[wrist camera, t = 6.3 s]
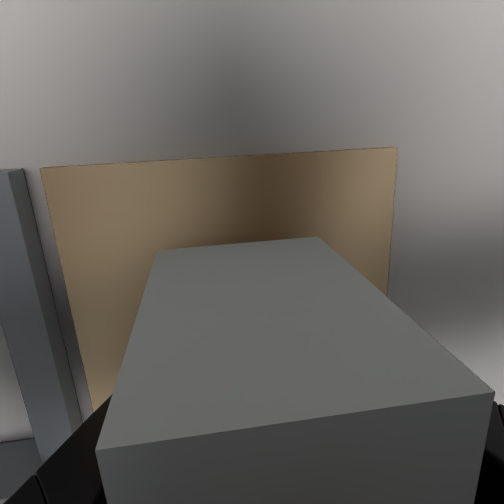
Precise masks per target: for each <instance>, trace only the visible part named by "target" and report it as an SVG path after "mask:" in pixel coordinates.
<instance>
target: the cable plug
mask: <svg viewBox="0 0 504 504" xmlns="http://www.w3.org/2000/svg"><path fill="white" fill-rule="evenodd" d="M494 395H495V391H494V390H492V389H491V388H490V387H489V386H488V385H487V384H486V383H484V382H483V381H482V380H481V379H480V378H479V377H478V376H476V375H475V374H474V373H473V372H472V371H471V370H470V369H469V368H467V367H466V366H465V365H464V364H463V363H462V362H461V361H459V360H458V359H457V358H456V357H455V356H454V355H453V354H451V353H450V352H449V351H448V350H447V349H446V348H445V347H443V346H442V345H441V344H440V343H439V342H438V341H437V340H435V339H434V338H433V337H432V336H431V335H430V334H429V333H427V332H426V331H425V330H424V329H423V328H422V327H421V326H420V325H418V324H417V323H416V322H415V321H414V320H413V319H412V318H410V317H409V316H408V315H407V314H406V313H405V312H404V311H402V310H401V309H400V308H399V307H398V306H397V305H396V304H394V303H393V302H392V301H391V300H390V299H389V298H388V297H386V296H385V295H384V294H383V293H382V292H381V291H380V290H378V289H377V288H376V287H375V286H374V285H373V284H372V283H371V282H369V281H368V280H367V279H366V278H365V277H364V276H363V275H361V274H360V273H359V272H358V271H357V270H356V269H355V268H353V267H352V266H351V265H350V264H349V263H348V262H347V261H345V260H344V259H343V258H342V257H341V256H340V255H339V254H337V253H336V252H335V251H334V250H333V249H332V248H331V247H329V246H328V245H327V244H326V243H325V242H324V241H323V240H321V239H320V238H319V237H318V236H317V237H305V238H294V239H282V240H271V241H259V242H248V243H236V244H225V245H213V246H202V247H190V248H179V249H167V250H157V253H156V256H155V259H154V262H153V265H152V269H151V272H150V275H149V278H148V282H147V285H146V288H145V291H144V294H143V298H142V301H141V304H140V307H139V310H138V314H137V317H136V320H135V323H134V327H133V330H132V333H131V336H130V339H129V343H128V346H127V349H126V352H125V356H124V359H123V362H122V365H121V368H120V372H119V375H118V378H117V381H116V384H115V388H114V391H113V394H112V397H111V401H110V404H109V407H108V410H107V413H106V417H105V420H104V423H103V426H102V430H101V433H100V436H99V439H98V442H97V446H96V449H95V453H96V457H97V461H98V466H99V470H100V474H101V479H102V483H103V488H104V492H105V496H106V501H107V504H474V500H475V495H476V490H477V484H478V479H479V474H480V469H481V463H482V458H483V453H484V448H485V442H486V437H487V432H488V427H489V421H490V416H491V411H492V406H493V400H494Z"/></svg>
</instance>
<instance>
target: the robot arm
mask: <svg viewBox="0 0 504 504" xmlns="http://www.w3.org/2000/svg"><path fill="white" fill-rule="evenodd" d="M112 394H113V393H112ZM112 394H111V395H110V396H109V398H108V399H107V400H106V401H105V402H104V403H103V404H102V405H101V406H100V407H99V408H98V409H97V410H96V411H95V412H94V413H93V414H92V415H91V416H90V417H89V418H88V419H87V420H86V421H85V422H84V423H83V424H82V425H81V426H80V427H79V428H78V429H77V430H76V431H75V432H74V433H73V434H72V435H71V436H70V437H69V438H68V439H67V440H66V441H65V442H64V443H63V444H62V445H61V446H60V447H59V448H58V449H57V450H56V451H55V452H54V453H53V454H52V455H51V456H50V457H49V458H48V459H47V460H46V461H45V462H44V463H43V464H42V465H41V466H40V467H39V468H38V469H37V470H36V471H35V475H31V476H30V477H29V478H28V479H27V480H26V481H25V482H24V483H23V484H22V485H21V486H20V487H19V488H18V489H17V490H16V491H15V492H14V493H13V494H12V495H11V496H10V497H9V498H8V499H7V500H6V501H5V502H4V503H3V504H107V501H106V496H105V492H104V488H103V483H102V479H101V474H100V470H99V466H98V461H97V457H96V453H95V449H96V446H97V442H98V439H99V436H100V433H101V430H102V426H103V423H104V420H105V417H106V413H107V410H108V407H109V404H110V401H111V397H112ZM474 504H504V405H502V404H499V405H498V404H497V403H496V402H495V401H493V406H492V411H491V416H490V421H489V427H488V432H487V437H486V442H485V448H484V453H483V458H482V463H481V469H480V474H479V479H478V484H477V490H476V495H475V500H474Z"/></svg>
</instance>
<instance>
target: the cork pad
mask: <svg viewBox="0 0 504 504" xmlns="http://www.w3.org/2000/svg"><path fill="white" fill-rule="evenodd" d="M397 152H398V148H396V147H387V148H369V149H352V150H335V151H318V152H301V153H284V154H267V155H250V156H233V157H215V158H198V159H181V160H164V161H147V162H130V163H113V164H96V165H79V166H61V167H44V168H41V169H40V172H41V177H42V181H43V186H44V190H45V195H46V199H47V204H48V208H49V213H50V217H51V222H52V226H53V231H54V236H55V240H56V245H57V249H58V254H59V258H60V263H61V267H62V272H63V276H64V281H65V285H66V290H67V294H68V299H69V303H70V308H71V313H72V317H73V322H74V326H75V331H76V335H77V340H78V344H79V349H80V353H81V358H82V362H83V367H84V371H85V376H86V380H87V385H88V390H89V394H90V399H91V403H92V408H93V412H95V411H96V410H97V409H98V408H99V407H100V406H101V405H102V404H103V403H104V402H105V401H106V400H107V399H108V398H109V396H110V395H111V394H112V393H113V391H114V388H115V384H116V381H117V378H118V375H119V372H120V368H121V365H122V362H123V359H124V356H125V352H126V349H127V346H128V343H129V339H130V336H131V333H132V330H133V327H134V323H135V320H136V317H137V314H138V310H139V307H140V304H141V301H142V298H143V294H144V291H145V288H146V285H147V282H148V278H149V275H150V272H151V269H152V265H153V262H154V259H155V256H156V253H157V250H167V249H179V248H190V247H202V246H213V245H225V244H236V243H248V242H259V241H271V240H282V239H294V238H305V237H317V236H318V237H319V238H320V239H321V240H323V241H324V242H325V243H326V244H327V245H328V246H329V247H331V248H332V249H333V250H334V251H335V252H336V253H337V254H339V255H340V256H341V257H342V258H343V259H344V260H345V261H347V262H348V263H349V264H350V265H351V266H352V267H353V268H355V269H356V270H357V271H358V272H359V273H360V274H361V275H363V276H364V277H365V278H366V279H367V280H368V281H369V282H371V283H372V284H373V285H374V286H375V287H376V288H377V289H378V290H380V291H381V292H382V293H383V294H384V295H385V296H386V297H387V288H388V274H389V260H390V247H391V233H392V220H393V206H394V193H395V179H396V165H397Z"/></svg>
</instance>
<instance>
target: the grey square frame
mask: <svg viewBox="0 0 504 504" xmlns="http://www.w3.org/2000/svg"><path fill="white" fill-rule="evenodd" d="M0 320H1V323H2V327H3V330H4V334H5V337H6V341H7V344H8V347H9V351H10V354H11V358H12V361H13V365H14V368H15V372H16V375H17V379H18V382H19V385H20V389H21V392H22V396H23V399H24V403H25V406H26V410H27V413H28V417H29V420H30V424H31V427H32V430H33V434H34V437H35V438H34V439H27V440H20V441H13V442H6V443H0V504H3V503H4V502H5V501H6V500H7V499H8V498H9V497H10V496H11V495H12V494H13V493H14V492H15V491H16V490H17V489H18V488H19V487H20V486H21V485H22V484H23V483H24V482H25V481H26V480H27V479H28V478H29V477H30V476H31V475H35V471H36V470H37V469H38V468H39V467H40V466H41V465H42V464H43V463H44V462H45V461H46V460H47V459H48V458H49V457H50V456H51V455H52V454H53V453H54V452H55V451H56V450H57V449H58V448H59V447H60V446H61V445H62V444H63V443H64V442H65V441H66V440H67V439H68V438H69V437H70V436H71V435H72V434H73V433H74V432H75V431H76V430H77V429H78V428H79V427H80V426H81V425H82V424H83V423H82V419H81V415H80V410H79V406H78V402H77V398H76V393H75V389H74V385H73V381H72V376H71V372H70V368H69V364H68V359H67V355H66V351H65V347H64V342H63V338H62V334H61V330H60V325H59V321H58V317H57V313H56V308H55V304H54V300H53V296H52V291H51V287H50V283H49V278H48V274H47V270H46V266H45V261H44V257H43V253H42V249H41V244H40V240H39V236H38V232H37V227H36V223H35V219H34V215H33V210H32V206H31V202H30V198H29V193H28V189H27V185H26V181H25V176H24V172H23V169H10V170H0Z"/></svg>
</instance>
